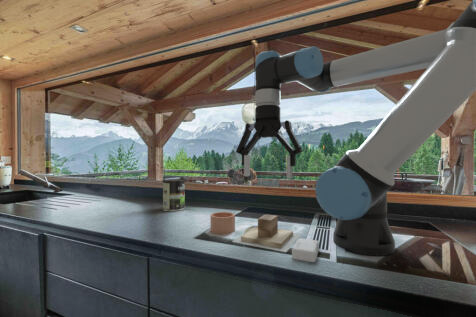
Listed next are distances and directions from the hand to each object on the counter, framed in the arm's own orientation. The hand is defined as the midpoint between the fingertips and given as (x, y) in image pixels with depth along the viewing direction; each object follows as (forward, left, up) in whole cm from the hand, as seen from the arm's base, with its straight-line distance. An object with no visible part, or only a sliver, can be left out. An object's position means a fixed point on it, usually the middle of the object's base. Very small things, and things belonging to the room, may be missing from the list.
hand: (267, 177), depth 70 cm
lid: (0, 0, -18) cm, 18 cm away
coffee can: (+55, -18, -19) cm, 61 cm away
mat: (0, 0, -19) cm, 19 cm away
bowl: (+16, 0, -19) cm, 24 cm away
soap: (-13, +6, -19) cm, 24 cm away
